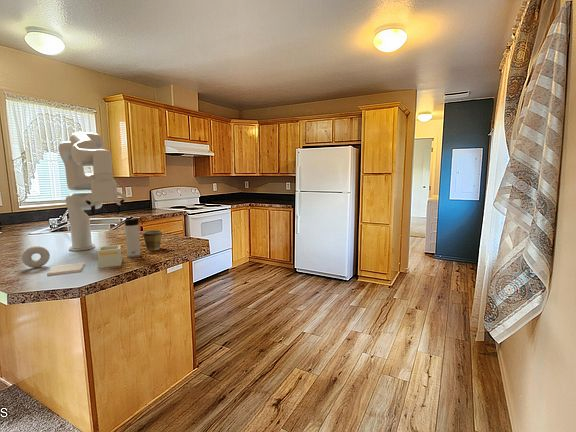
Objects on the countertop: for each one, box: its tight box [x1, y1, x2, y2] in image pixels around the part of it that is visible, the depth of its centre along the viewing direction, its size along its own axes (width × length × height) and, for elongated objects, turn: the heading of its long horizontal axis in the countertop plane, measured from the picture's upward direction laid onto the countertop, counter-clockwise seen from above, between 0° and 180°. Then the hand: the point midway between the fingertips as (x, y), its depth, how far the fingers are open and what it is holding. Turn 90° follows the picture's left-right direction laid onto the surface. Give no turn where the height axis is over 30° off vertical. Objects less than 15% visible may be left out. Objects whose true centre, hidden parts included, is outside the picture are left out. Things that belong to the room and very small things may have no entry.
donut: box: [21, 245, 51, 269], centre depth 141 cm, size 10×4×10 cm, turn 132°
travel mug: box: [124, 217, 142, 259], centre depth 159 cm, size 6×7×20 cm
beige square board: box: [46, 262, 86, 276], centre depth 138 cm, size 12×12×1 cm
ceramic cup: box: [142, 229, 163, 251], centre depth 177 cm, size 13×10×10 cm
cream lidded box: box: [96, 244, 123, 269], centre depth 146 cm, size 9×9×8 cm
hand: (106, 214), depth 143 cm, fingers open, 9 cm apart
